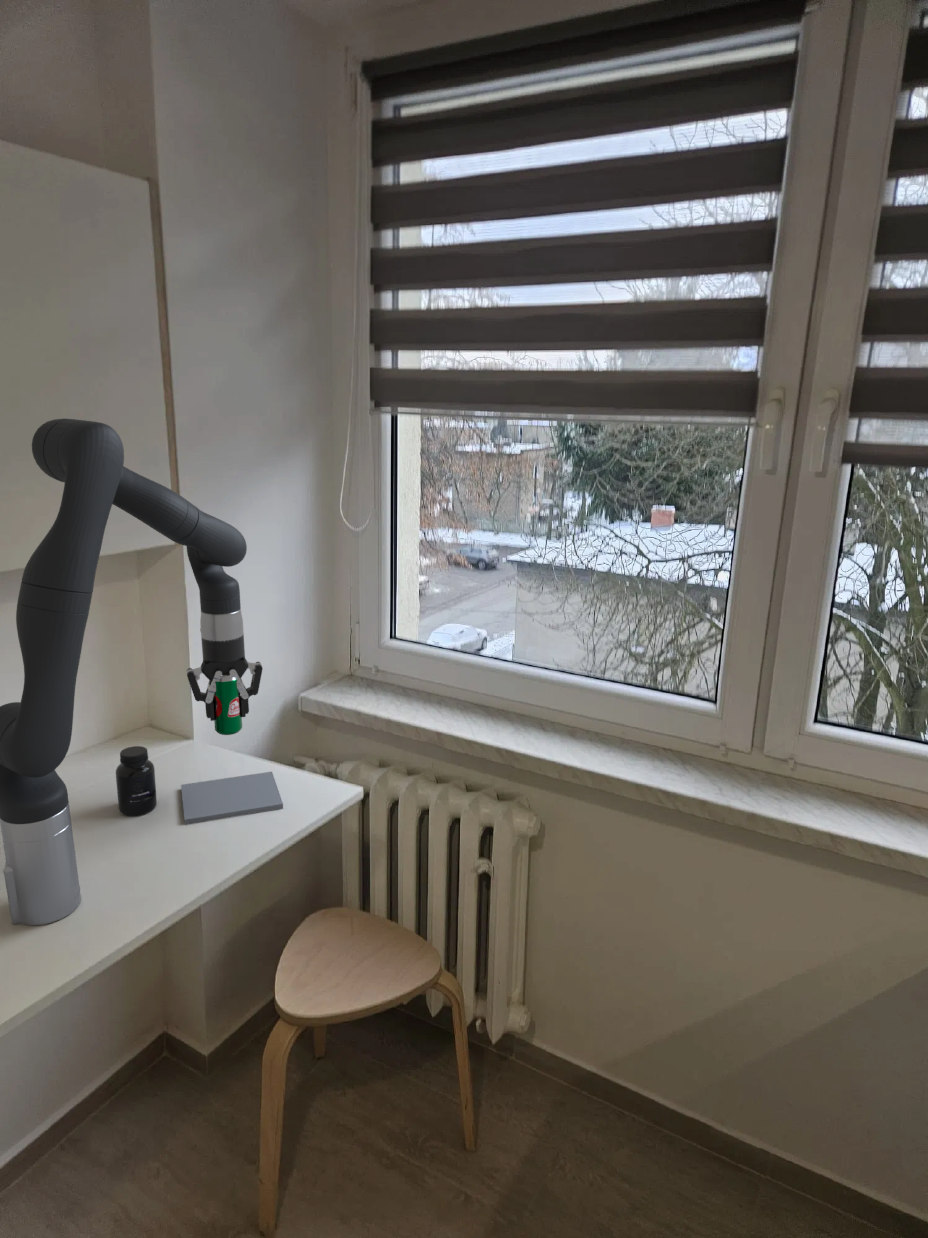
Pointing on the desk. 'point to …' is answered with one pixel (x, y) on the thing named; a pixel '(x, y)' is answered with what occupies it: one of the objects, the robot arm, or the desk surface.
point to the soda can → (227, 706)
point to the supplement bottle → (135, 782)
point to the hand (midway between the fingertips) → (228, 717)
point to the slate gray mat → (230, 797)
